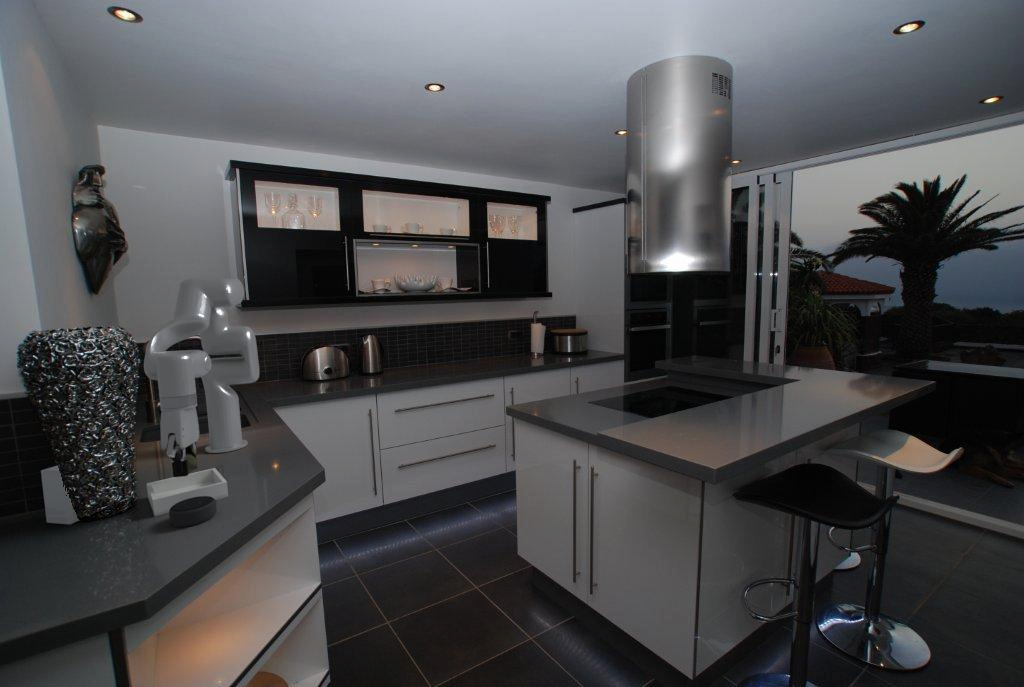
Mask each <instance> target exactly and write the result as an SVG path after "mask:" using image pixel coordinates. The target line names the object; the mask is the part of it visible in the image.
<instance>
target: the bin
mask: <svg viewBox="0 0 1024 687" xmlns="http://www.w3.org/2000/svg"><path fill="white" fill-rule="evenodd" d="M228 488H229V487H228V481H227V480H226V479H225V478H224V477H223V475H222V474H221V473H220V471H218V470H217V469H216V467H212V468H209V469H205V470H200V471H196V472H191V473H189V474H188V475H187V476H182V477H173V476H172V477H169V478H165V479H161V480H155V481H152V482H147V483H146V490H147V498H148V501H149V504H150V507H151V511H152V514H153V516H154V517H159V516H162V515H166V514H169V510H170V508H171V507H172V506H173V505H175V504H176V503H178V502H180V501H183V500H186V499H189V498H193V497H199V496H210V497H213V498H214V499H215V500H216V501H219V500H222V499H223V500H224V499H226V498H229V489H228Z"/></svg>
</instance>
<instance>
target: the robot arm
mask: <svg viewBox="0 0 1024 687" xmlns="http://www.w3.org/2000/svg"><path fill="white" fill-rule="evenodd" d="M178 287H179V288H178V293H177V298H176V304H175V309H174V313H173V319H171V320H170V321H168V322H167V323H165V324H164V325H163V326H161V327H160V328H159V329H158V330H157V331H156V332H154V333H153V335H152V336H151V337H150V339H149V340H148V343H147V345H146V350H145V355H144V359H143V371H144V373H145V375H146V376H147V378H148V379H151V380H153V381H157V386H158V393H159V395H158V398H159V404H160V405H159V406H160V407H159V408H160V411H161V413H160V424H159V425H160V429H159V430H160V446H161V447H160V448H161V450H162V451H165V452H166V453H165V454H166V456H167V457H169V458H170V462H171V466H172V467H171V468H172V478H173V477H182V476H187V475H188V474H190V473H188V462H187V460H185V454H190V455H192V456H193V457H195V458H196V461H197V460H198V459H197V442H198V440H199V438H200V425H199V418H198V414H197V409H196V407H198V398H197V396H198V395H197V387H196V378H197V379H198V378H201V380H202V384H203V388H204V389H203V390H204V394H205V404H206V413H207V414H206V415H207V421H208V422H207V424H208V435H209V436H208V437H209V444H208V445H207V446H206V447H204V450H205V452H206V453H209V454H219V453H228V452H232V451H236V450H240V449H243V448H245V447H246V446H247V445H248V440H246V439H243V433H242V423H241V414H240V413H241V412H240V401H239V400H240V399H239V396H238V393H237V392H236V391H235V390H234V388H232V387H231V386H232V385H242V384H251V383H252V384H253V383H255V382H257V381H258V380H259V378H260V363H259V356H258V355H259V354H258V346H257V338H256V335H255V332H254V330H253V329H252V328H251V327H249V326H246V325H234V326H233V325H230V323H229V316H228V315H229V314H228V312H227V310H226V309H225V307H236V306H237V305H240V304H241V303H242V302H243V300H244V297H245V289H244V284H243V282H242V281H241V280H240V279H238V278H236V277H194V278H187V279H184V280H182V281H181V282H180V283H179V286H178ZM198 335H199V336H200V344H201V347H202V350H200V349H187V350H186V349H185V350H168V349H169V348H170V347H172V346H174V345H175V344H177V343H180V342H182V341H184V340H188V339H190V338H193V337H195V336H198ZM210 355H211V356H220V355H221V356H223V355H241V356H233V357H231V356H228V357H215V358H211V356H210ZM176 447H178V448H176ZM197 462H198V461H197ZM197 469H198V465H197V466H196V469H195V470H197Z"/></svg>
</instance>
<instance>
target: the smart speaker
mask: <svg viewBox="0 0 1024 687" xmlns="http://www.w3.org/2000/svg"><path fill="white" fill-rule="evenodd" d="M217 508H218V507H217V500H215V499H214V498H213V497H210V496H199V497H193V498H189V499H186V500H183V501H180V502H178V503H176V504H175V505H173V506H172V507H171V508H170V510H169V513H168V516H169V523H170V525H172V526H174V527H178V528H185V527H191V526H195V525H196V526H197V525H198V524H202V523H204V522H208V521H209V520H210V519H211V518H213V517H214V516H215V515H216V514H217V511H218V510H217Z"/></svg>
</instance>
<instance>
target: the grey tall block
mask: <svg viewBox="0 0 1024 687" xmlns="http://www.w3.org/2000/svg"><path fill="white" fill-rule="evenodd" d="M40 473H41V475H40V476H41V483H42V491H43V492H42V493H43V500H44V508H45V518H46V520H45V521H46V523H49V524H59V525H72V524H75V523H77V522H79V521H80V520H79V519H78V518H77V515H76V512H75V510H74V508H73V506H72V503H71V499H70V498H69V494H67V493H68V492H67V488H66V491H65V485H64V487H63V481H62V477H61V473H60V471H59V468H58V465H55V466H52V467H48V468H45V469H42V470H40ZM66 495H67V496H66Z"/></svg>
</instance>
